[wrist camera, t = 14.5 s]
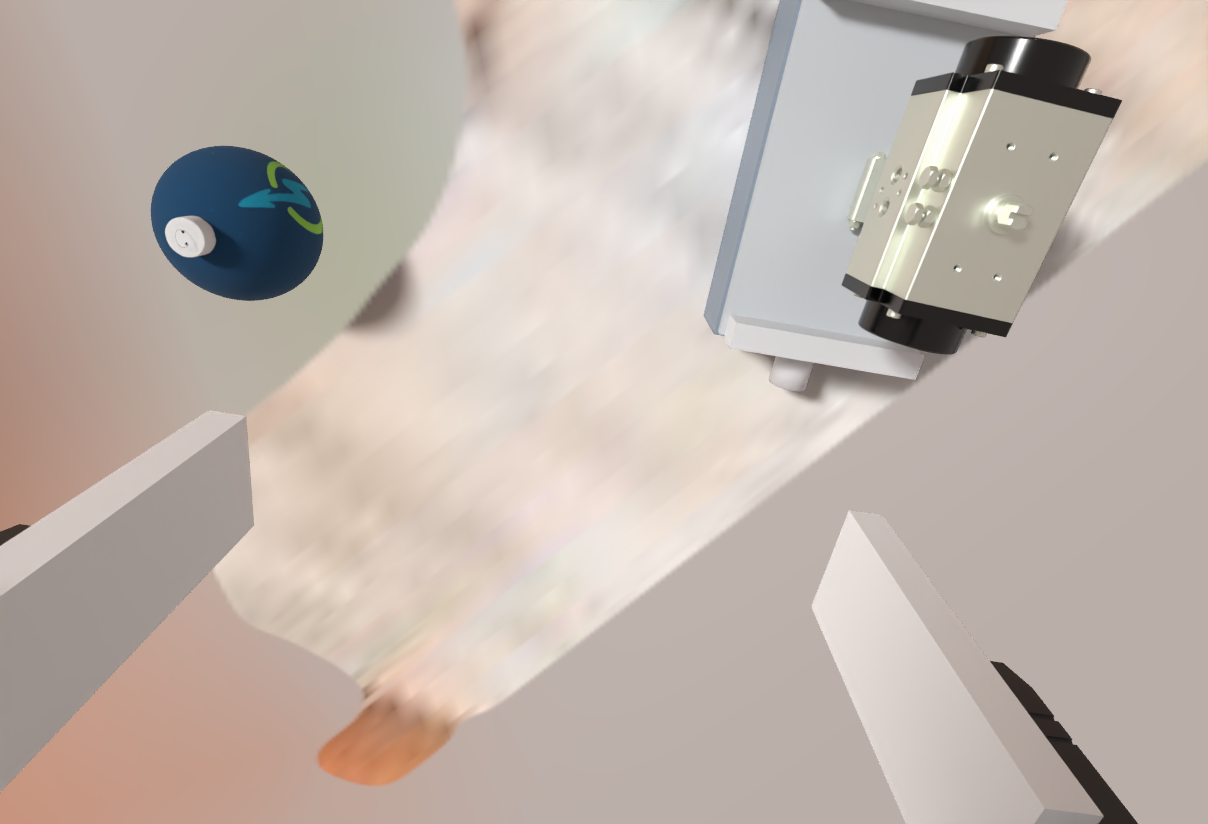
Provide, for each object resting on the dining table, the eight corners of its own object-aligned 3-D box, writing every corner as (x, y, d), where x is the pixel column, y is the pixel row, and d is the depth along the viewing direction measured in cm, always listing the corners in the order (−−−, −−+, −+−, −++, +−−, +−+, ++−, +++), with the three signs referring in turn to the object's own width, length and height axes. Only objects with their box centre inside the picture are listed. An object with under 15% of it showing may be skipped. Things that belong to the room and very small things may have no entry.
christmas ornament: (357, 282, 40) (282, 321, 31) (233, 286, 40) (121, 327, 31) (329, 143, 37) (236, 140, 28) (194, 149, 37) (56, 149, 28)
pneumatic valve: (972, 85, 31) (1174, 49, 20) (883, 307, 35) (1006, 379, 24) (869, 59, 30) (1016, 8, 19) (792, 287, 35) (876, 351, 24)
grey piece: (784, -20, 33) (826, -60, 27) (992, 23, 34) (1081, -6, 28) (693, 357, 42) (708, 395, 35) (860, 385, 43) (904, 427, 36)
